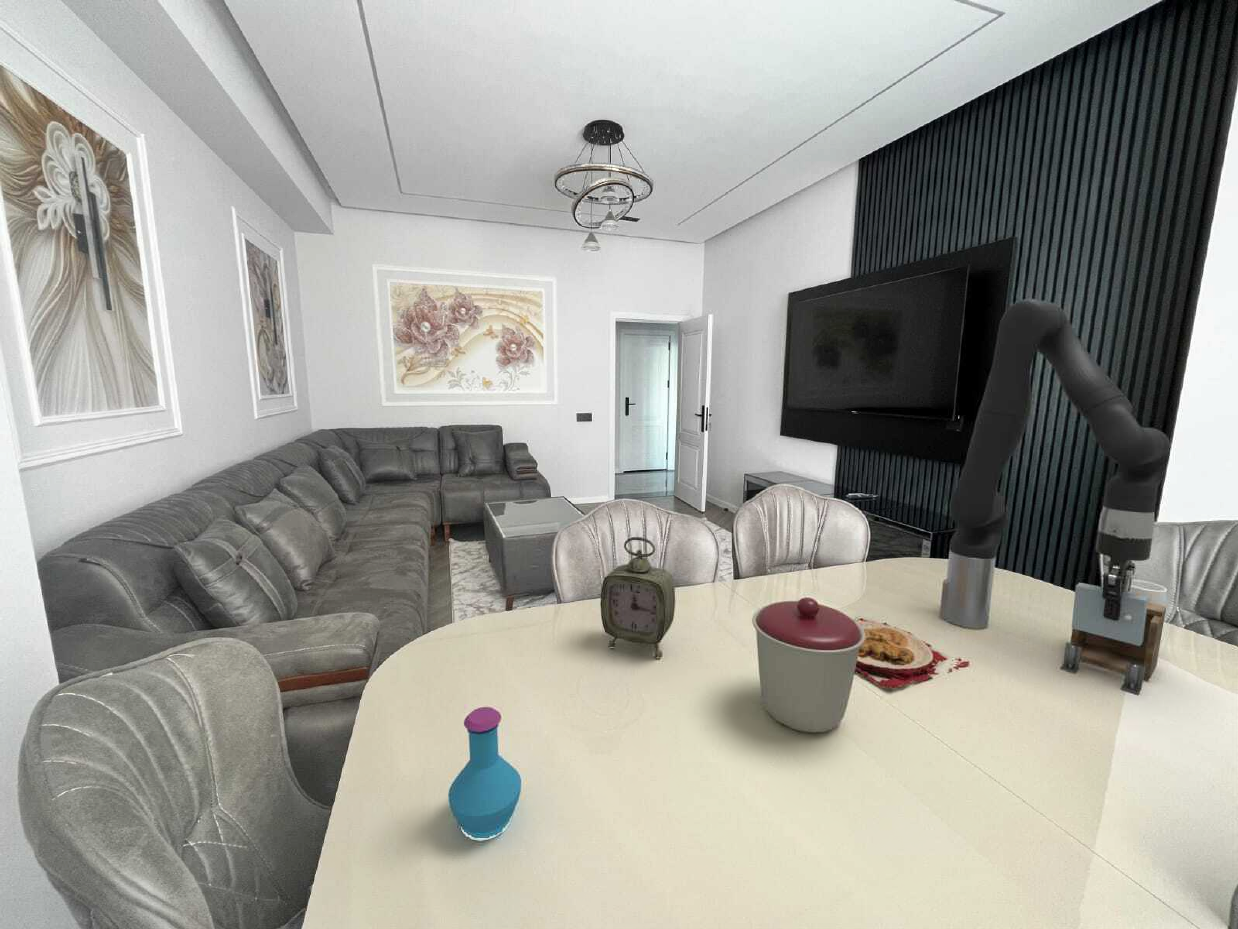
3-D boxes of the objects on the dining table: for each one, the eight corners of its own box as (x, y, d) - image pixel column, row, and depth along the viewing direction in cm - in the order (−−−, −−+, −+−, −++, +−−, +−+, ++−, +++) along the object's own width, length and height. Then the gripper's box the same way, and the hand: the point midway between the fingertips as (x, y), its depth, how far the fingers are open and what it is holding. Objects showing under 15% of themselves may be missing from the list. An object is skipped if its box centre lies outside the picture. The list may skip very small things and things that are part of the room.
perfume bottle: (458, 794, 72) (453, 695, 70) (525, 790, 73) (522, 692, 71) (441, 853, 63) (435, 741, 61) (518, 847, 64) (515, 737, 62)
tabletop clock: (600, 650, 112) (600, 538, 108) (616, 632, 120) (616, 528, 116) (664, 664, 106) (666, 547, 103) (676, 644, 115) (678, 535, 111)
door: (1070, 629, 105) (1074, 587, 104) (1075, 624, 108) (1079, 582, 106) (1138, 647, 97) (1144, 602, 96) (1142, 641, 100) (1148, 596, 99)
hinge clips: (1060, 669, 105) (1063, 645, 104) (1063, 664, 107) (1067, 641, 106) (1138, 695, 96) (1142, 670, 95) (1141, 690, 98) (1145, 665, 97)
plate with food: (888, 698, 96) (890, 680, 96) (787, 634, 120) (788, 619, 119) (970, 670, 106) (973, 654, 106) (862, 616, 130) (864, 602, 130)
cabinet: (1068, 656, 110) (1076, 598, 108) (1079, 643, 115) (1087, 588, 113) (1148, 681, 100) (1158, 618, 98) (1156, 666, 106) (1166, 606, 104)
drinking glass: (1165, 660, 108) (1177, 592, 106) (1127, 657, 110) (1138, 589, 107) (1140, 645, 115) (1151, 580, 113) (1105, 641, 116) (1114, 578, 114)
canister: (853, 694, 96) (861, 586, 93) (864, 760, 79) (875, 630, 76) (752, 676, 102) (757, 574, 99) (743, 734, 85) (748, 613, 82)
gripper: (1106, 522, 106) (1095, 601, 109) (1090, 533, 98) (1078, 619, 100) (1158, 529, 101) (1146, 613, 103) (1145, 542, 92) (1132, 634, 95)
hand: (1112, 616), depth 102 cm, fingers closed on door, 3 cm apart
